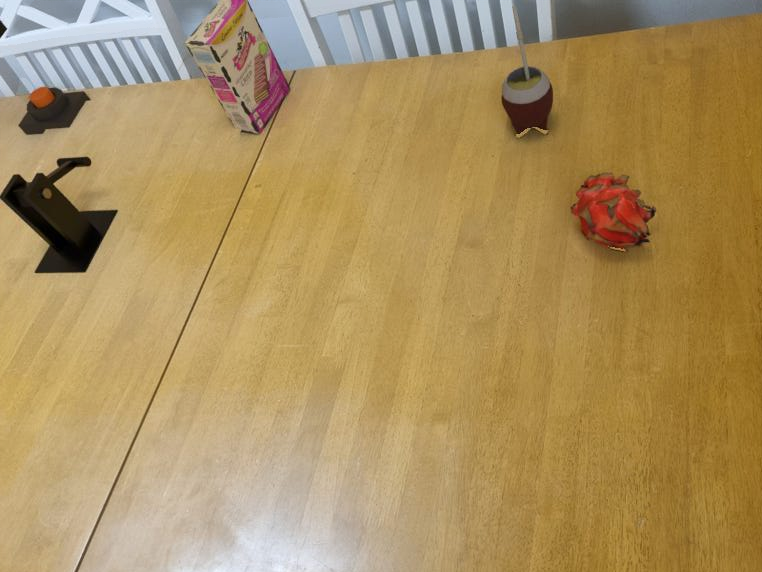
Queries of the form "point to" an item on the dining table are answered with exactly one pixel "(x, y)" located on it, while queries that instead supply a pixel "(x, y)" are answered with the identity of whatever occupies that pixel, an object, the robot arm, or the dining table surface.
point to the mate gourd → (526, 92)
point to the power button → (41, 97)
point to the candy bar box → (239, 64)
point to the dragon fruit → (612, 212)
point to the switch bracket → (59, 224)
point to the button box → (53, 112)
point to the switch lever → (54, 175)
